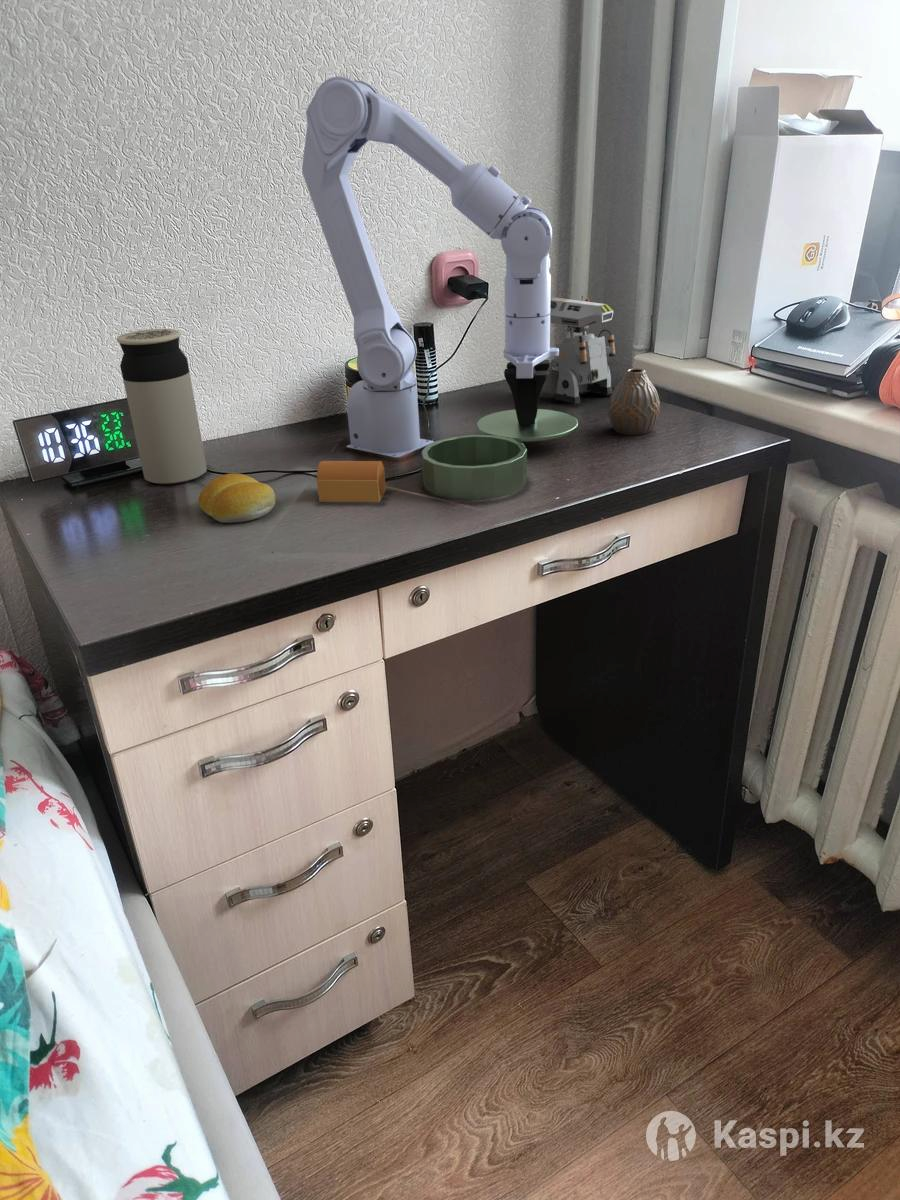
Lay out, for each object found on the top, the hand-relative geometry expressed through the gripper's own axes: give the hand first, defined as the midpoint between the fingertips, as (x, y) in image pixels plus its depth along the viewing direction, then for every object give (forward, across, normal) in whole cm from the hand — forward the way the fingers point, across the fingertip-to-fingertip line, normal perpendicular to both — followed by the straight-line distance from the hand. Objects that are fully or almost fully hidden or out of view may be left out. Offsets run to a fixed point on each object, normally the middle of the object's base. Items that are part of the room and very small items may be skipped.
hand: (527, 420), depth 116 cm
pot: (+4, -14, +6) cm, 16 cm away
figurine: (+4, +26, -6) cm, 28 cm away
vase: (+4, +7, -14) cm, 16 cm away
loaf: (+4, -18, +20) cm, 27 cm away
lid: (+1, 0, 0) cm, 1 cm away
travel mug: (+4, -11, +45) cm, 47 cm away
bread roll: (+4, -23, +33) cm, 40 cm away
